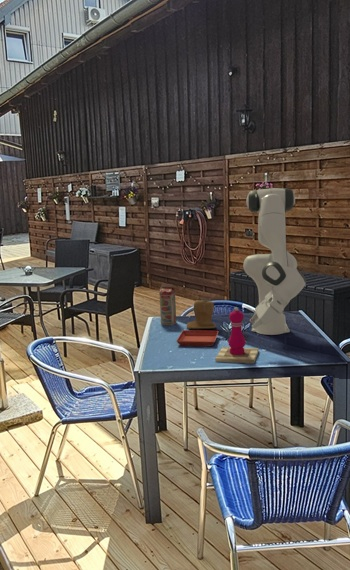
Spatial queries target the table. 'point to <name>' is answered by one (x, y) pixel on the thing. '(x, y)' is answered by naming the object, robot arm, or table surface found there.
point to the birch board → (247, 357)
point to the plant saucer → (197, 338)
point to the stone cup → (202, 315)
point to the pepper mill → (236, 333)
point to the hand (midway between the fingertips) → (251, 324)
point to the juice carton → (167, 304)
